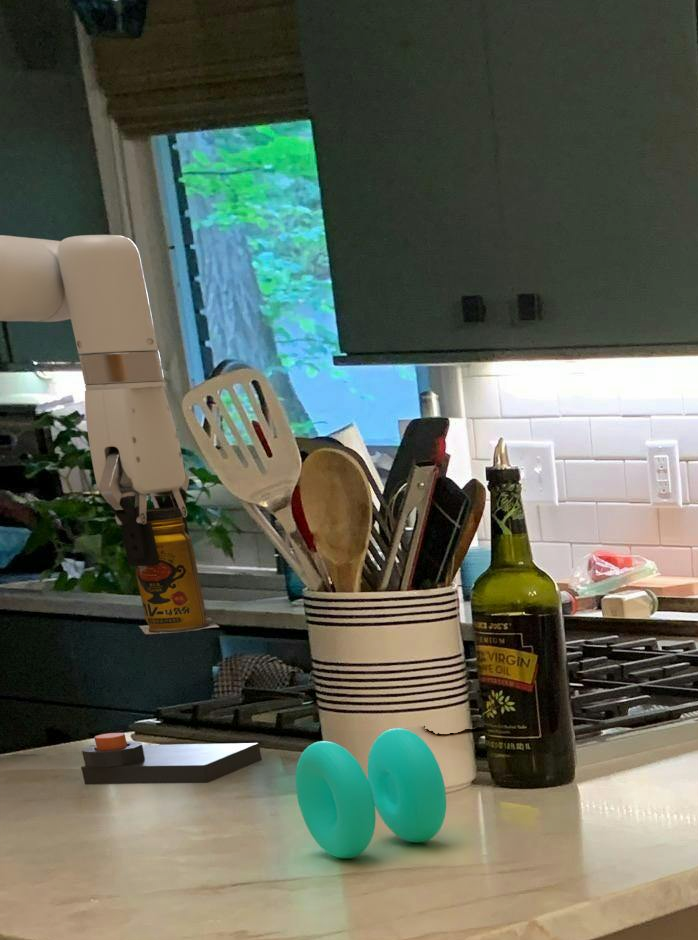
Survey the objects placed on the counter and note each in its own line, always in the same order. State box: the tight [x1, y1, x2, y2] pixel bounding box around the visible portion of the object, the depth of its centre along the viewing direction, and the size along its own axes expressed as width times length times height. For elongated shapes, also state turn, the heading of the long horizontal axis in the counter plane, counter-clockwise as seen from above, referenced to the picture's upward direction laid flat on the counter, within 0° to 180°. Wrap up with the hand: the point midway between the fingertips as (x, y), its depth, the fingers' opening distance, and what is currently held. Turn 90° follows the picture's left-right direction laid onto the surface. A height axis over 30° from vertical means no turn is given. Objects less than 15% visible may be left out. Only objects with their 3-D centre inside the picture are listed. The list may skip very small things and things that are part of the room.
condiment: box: [134, 507, 220, 635], centre depth 202 cm, size 7×8×12 cm
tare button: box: [94, 732, 127, 750], centre depth 204 cm, size 3×3×2 cm
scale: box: [80, 740, 262, 785], centre depth 207 cm, size 14×12×4 cm
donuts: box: [295, 727, 447, 859], centre depth 168 cm, size 10×10×10 cm
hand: (161, 560), depth 201 cm, fingers closed on condiment, 6 cm apart
